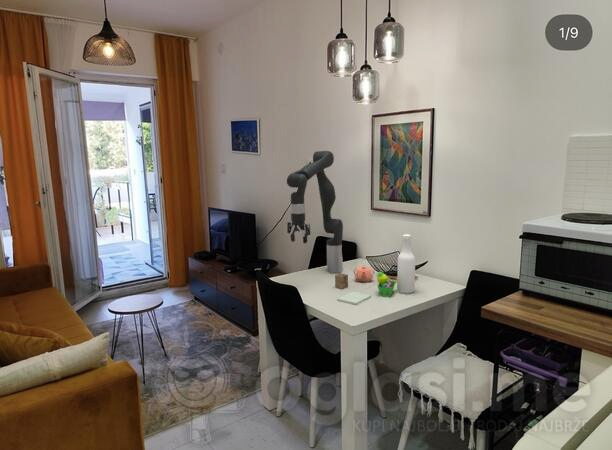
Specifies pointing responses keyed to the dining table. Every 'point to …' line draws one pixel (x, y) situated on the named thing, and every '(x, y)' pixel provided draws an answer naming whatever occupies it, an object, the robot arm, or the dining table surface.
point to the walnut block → (341, 281)
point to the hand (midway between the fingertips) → (298, 242)
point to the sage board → (354, 298)
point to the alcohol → (406, 267)
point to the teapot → (363, 274)
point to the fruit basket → (385, 285)
